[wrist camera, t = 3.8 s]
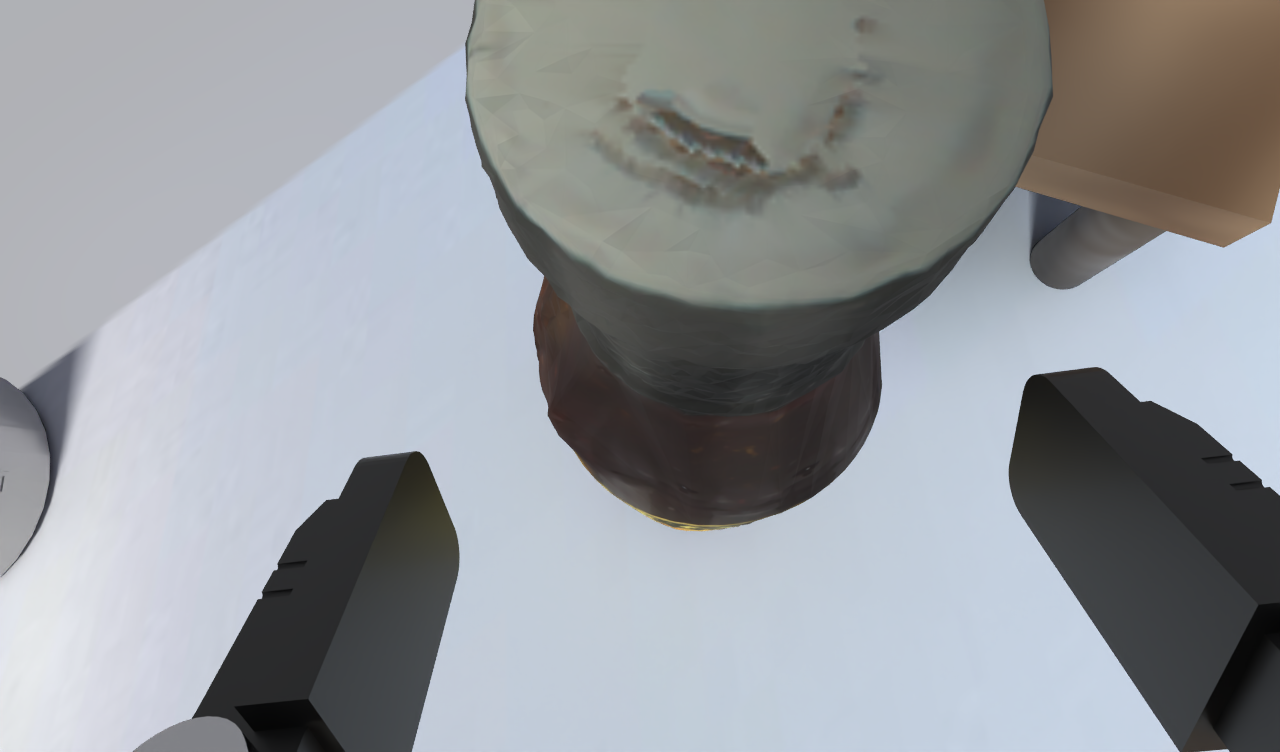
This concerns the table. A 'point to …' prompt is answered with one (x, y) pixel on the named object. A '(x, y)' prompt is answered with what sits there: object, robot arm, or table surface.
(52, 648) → the table surface
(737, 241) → the sauce bottle
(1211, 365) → the table surface
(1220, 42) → the peg shelf
